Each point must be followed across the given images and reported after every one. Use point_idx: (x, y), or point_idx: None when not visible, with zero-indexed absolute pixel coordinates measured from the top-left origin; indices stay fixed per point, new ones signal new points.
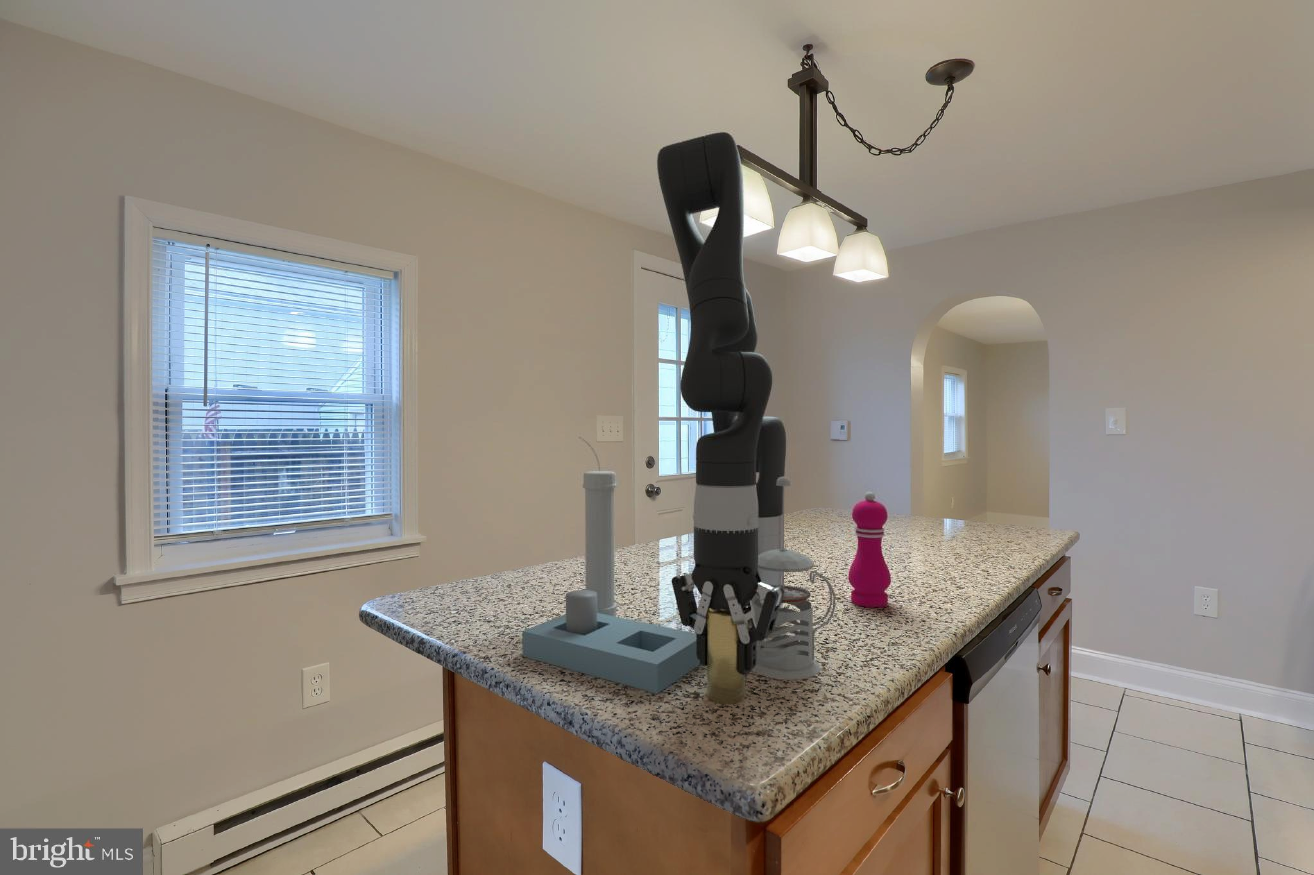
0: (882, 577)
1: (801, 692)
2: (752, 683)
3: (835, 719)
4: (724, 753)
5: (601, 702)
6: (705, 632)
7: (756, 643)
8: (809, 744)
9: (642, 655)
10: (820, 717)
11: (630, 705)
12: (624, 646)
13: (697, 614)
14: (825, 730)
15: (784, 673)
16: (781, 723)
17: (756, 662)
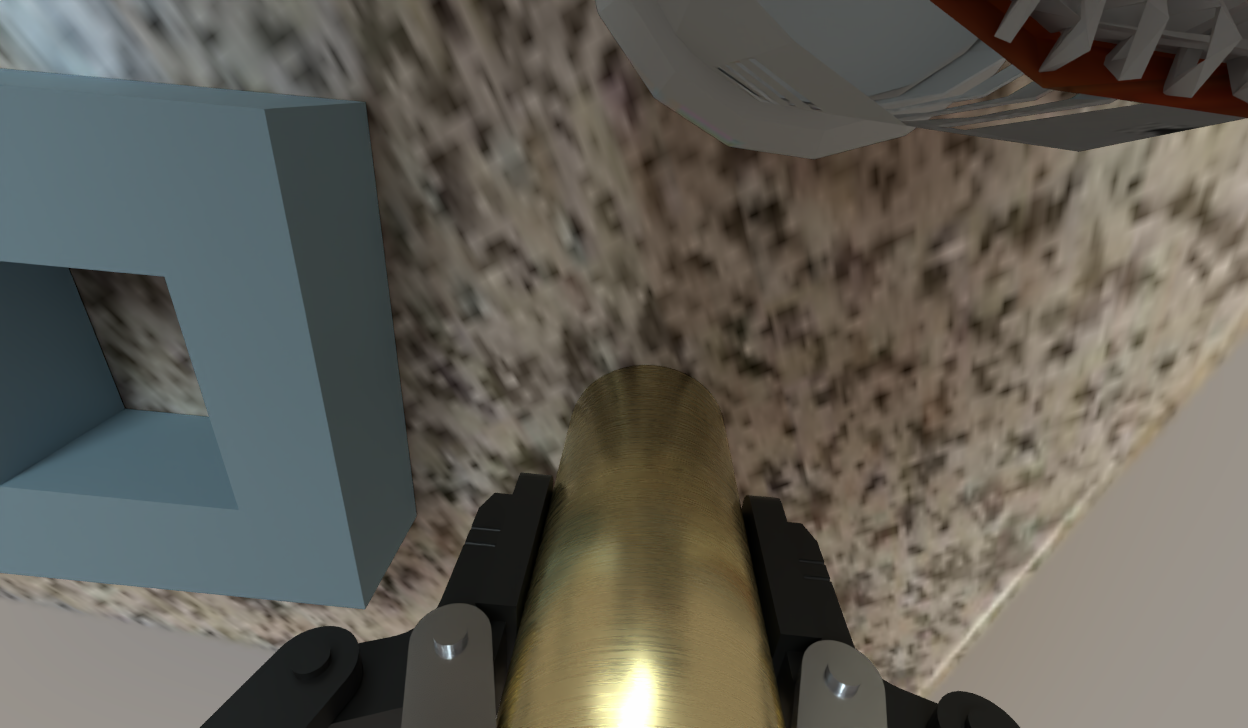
0: None
1: (971, 267)
2: (717, 275)
3: (1104, 444)
4: None
5: (316, 612)
6: (502, 684)
7: (851, 640)
8: (988, 604)
9: (238, 560)
10: (1043, 451)
11: (400, 599)
12: (75, 505)
13: (347, 721)
14: (1051, 523)
15: (882, 123)
16: (893, 534)
17: (684, 48)
